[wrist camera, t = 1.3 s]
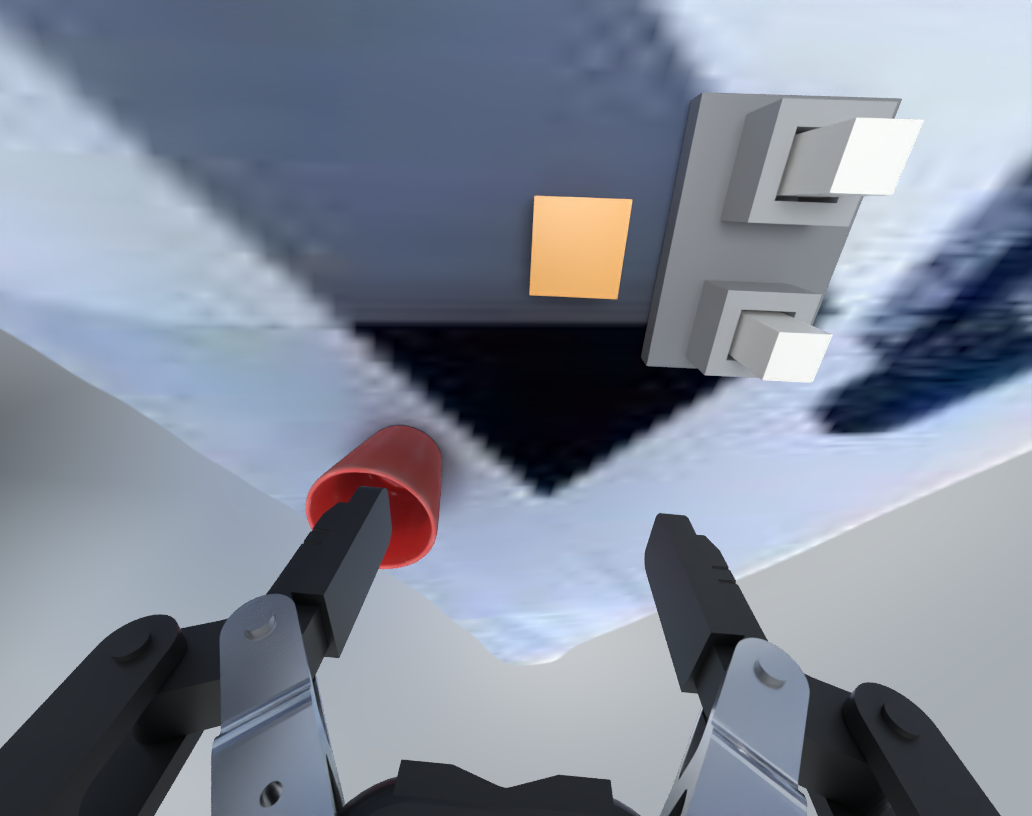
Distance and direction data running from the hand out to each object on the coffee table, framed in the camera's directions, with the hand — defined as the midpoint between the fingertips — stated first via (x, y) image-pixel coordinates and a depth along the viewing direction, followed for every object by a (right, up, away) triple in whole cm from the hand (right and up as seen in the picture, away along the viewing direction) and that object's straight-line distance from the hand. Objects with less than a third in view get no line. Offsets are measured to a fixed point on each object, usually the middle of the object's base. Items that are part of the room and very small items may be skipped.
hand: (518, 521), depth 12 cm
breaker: (+17, +9, +16) cm, 25 cm away
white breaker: (+17, +18, +12) cm, 27 cm away
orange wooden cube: (+4, +16, +18) cm, 25 cm away
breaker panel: (+17, +16, +18) cm, 29 cm away
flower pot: (-11, -1, +29) cm, 31 cm away
